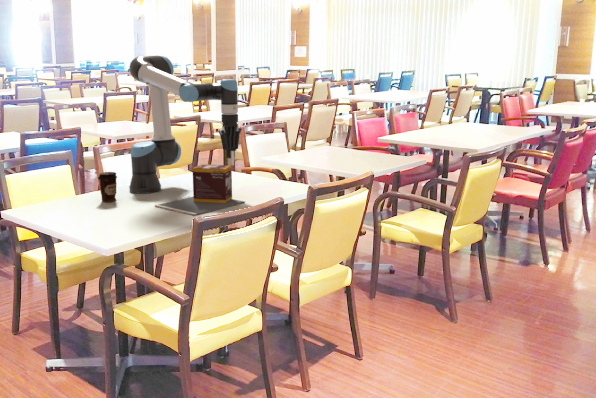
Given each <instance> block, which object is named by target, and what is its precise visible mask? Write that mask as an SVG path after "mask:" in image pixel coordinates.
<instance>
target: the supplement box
mask: <svg viewBox="0 0 596 398" xmlns="http://www.w3.org/2000/svg"><path fill="white" fill-rule="evenodd" d="M232 167H233V165H228V164H226V165H225V164H224V165H223V164H198V165H197V166H195V167H192V190H193V191H192V192H193V193H192V194H193V196H192V197H193V201H194V202H208V203H227V202H228V201H229V200H231V199H233V185H232V184H233V182H232V181H233V180H232V179H233V178H232V177H233V175H232V171H233V170H232Z"/></svg>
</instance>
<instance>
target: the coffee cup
mask: <svg viewBox="0 0 596 398" xmlns="http://www.w3.org/2000/svg"><path fill="white" fill-rule="evenodd" d="M117 178H118V176H117V172H115V171H105V172H100V173H99V175H98V176H97V179H98V182H99V189H100V195H101V201H102V203H112V202H116V201H117V199H116V194H117V185H118V184H117Z"/></svg>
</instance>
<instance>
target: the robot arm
mask: <svg viewBox="0 0 596 398" xmlns="http://www.w3.org/2000/svg"><path fill="white" fill-rule="evenodd" d="M129 73H130V75H131V77H132V78H134V79H135V80H136V81H138V82H140V83H143V84H145V85H146V86H147V87H148V88H149V96H150V106H151V116H152V126H153V137H152V138H151V141H150V140H149V141H141V142H137V143H134V144H133V145H131V147H130V158H131V159H130V160H131V176H132V177H131V180H130V185H129V192H131V193H133V194H151V193H156V192H160V191H161V190H162V184H161V182H160V180H159V177H158V173H157V168H158V167H159V168H160V167H165V166H171V165H173V164H176V163H177V162H178V161H179V160H180V159H181V156H182V148H181V146H180V143H179V142H178V141H176V137H174V135H173V134H172V125H171V114H170V103H169V93H171V94H174V95H176V96H179V97H180V98H179V99H181V101H183V102H186V103H193V102H201V101H203V102H204V101H220V107H221V111H220V112H221V123H222V127H221V129H218V134H219V135H220V141H221V145H222V149H223V151H225V152H226V158H227V165H232V166H235V155H236V154H235V151H236V152H237V150H238V148H239V143H240V137H241V132H242V127H239V126H238V122H239V114H238V113H239V104H238V102H239V101H238V93H239V92H238V89H239V88H238V82H237V80H236V79H232V78H231V79H229V78H226V79H224V78H223V79H221V80H220V83H216V82H215V83H212V82H205V83H204V82H203V83H192V82H190V81H188V80H186V79H183V78H180V77H178V76H175V75H174V66H173V63H172V61H171V60H170V59H169V58H168V57H167V56H164V55H139V56H136V57H134V58H133V59H132V60H131V62H130V63H129ZM168 92H169V93H168Z"/></svg>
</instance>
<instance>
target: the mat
mask: <svg viewBox="0 0 596 398" xmlns="http://www.w3.org/2000/svg"><path fill="white" fill-rule="evenodd" d="M242 204H246V201H243V200H238V199H233V198H232V199H231V200H229V201H228V202H227V203H208V202H194V201H193V196H189V197H185V198H180V199H176V200H172V201H168V202H163V203H159V204H154V207H155V208H159V207H160V208H159V209H163V208H164V209H163V210H167V211H172V212H177V213H181V214H185V215H189V214H190V216H194V217H195V215H196V216H199V215H204V214H208V213H211V212H215V211H218V210H222V209H223V210H224V209H227V208H230V207H234V206H237V205H242Z"/></svg>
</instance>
